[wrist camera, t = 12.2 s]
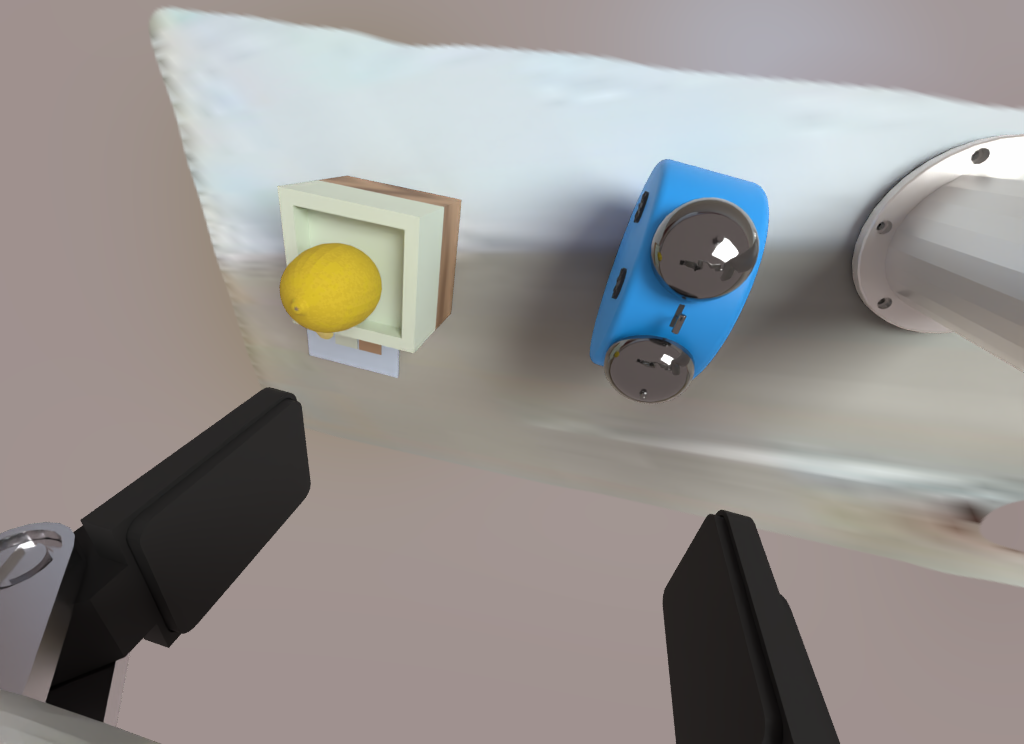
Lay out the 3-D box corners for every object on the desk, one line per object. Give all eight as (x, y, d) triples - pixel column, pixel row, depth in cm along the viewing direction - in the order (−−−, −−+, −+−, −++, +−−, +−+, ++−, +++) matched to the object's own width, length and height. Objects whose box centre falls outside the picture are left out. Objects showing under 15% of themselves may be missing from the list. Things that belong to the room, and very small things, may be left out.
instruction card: (400, 315, 41) (398, 316, 41) (398, 377, 44) (397, 378, 44) (304, 292, 42) (302, 293, 42) (310, 354, 45) (308, 355, 45)
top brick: (444, 207, 31) (419, 217, 27) (435, 330, 36) (413, 353, 32) (318, 180, 32) (277, 186, 28) (326, 303, 37) (293, 322, 33)
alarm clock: (659, 338, 36) (682, 448, 24) (590, 317, 37) (575, 414, 24) (735, 175, 30) (826, 206, 17) (650, 151, 30) (674, 164, 17)
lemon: (351, 313, 33) (283, 358, 27) (318, 243, 31) (234, 273, 24) (411, 298, 32) (355, 343, 25) (381, 223, 29) (310, 250, 23)
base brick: (461, 199, 34) (444, 207, 31) (450, 313, 40) (435, 330, 36) (346, 175, 35) (318, 180, 32) (351, 289, 41) (326, 303, 37)
